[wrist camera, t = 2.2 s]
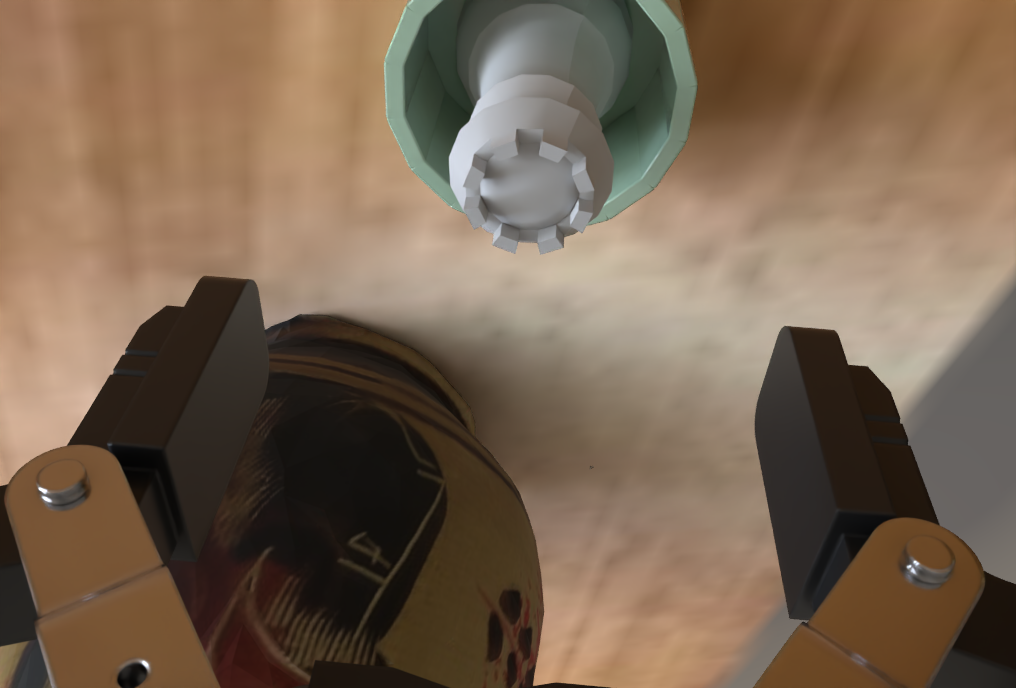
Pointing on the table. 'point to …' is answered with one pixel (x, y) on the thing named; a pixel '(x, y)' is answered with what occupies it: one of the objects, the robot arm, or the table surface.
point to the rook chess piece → (537, 115)
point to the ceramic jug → (357, 530)
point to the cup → (626, 126)
